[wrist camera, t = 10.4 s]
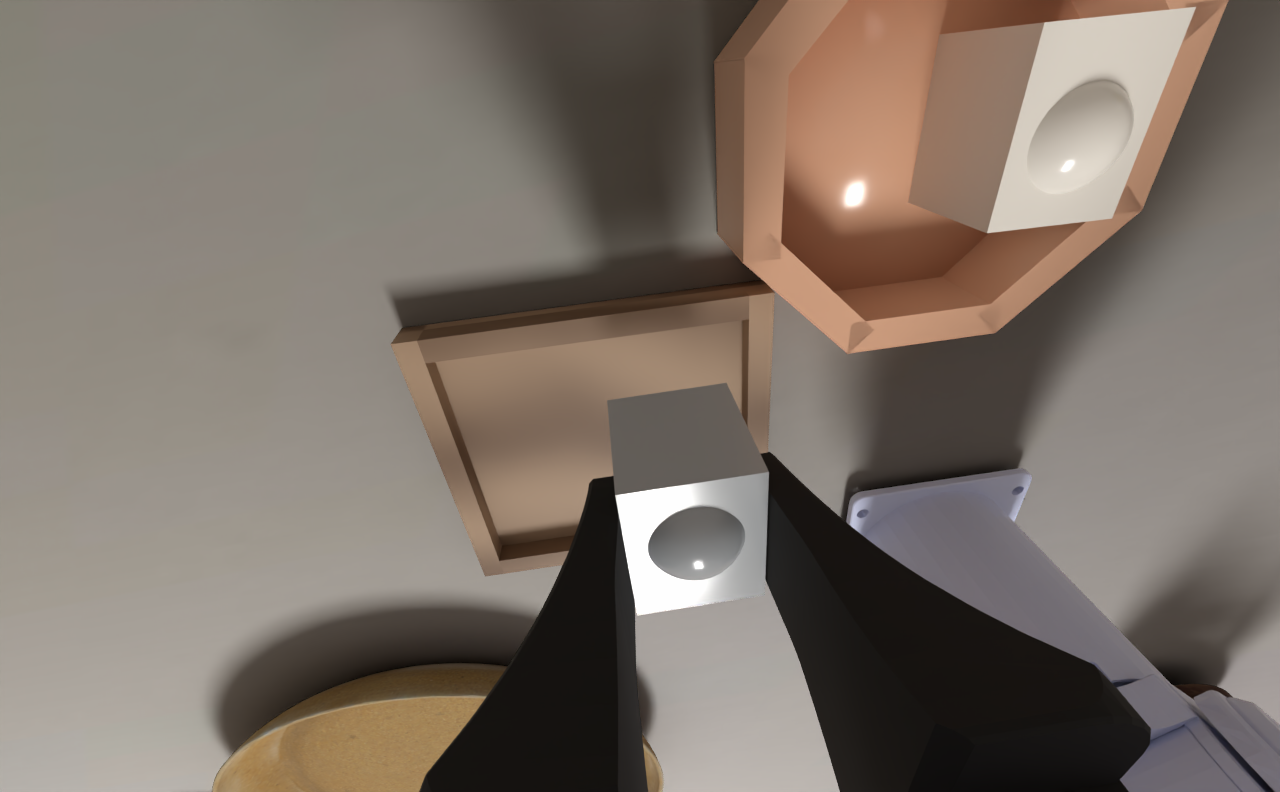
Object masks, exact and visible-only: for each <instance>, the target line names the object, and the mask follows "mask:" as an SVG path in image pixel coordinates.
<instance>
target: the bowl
mask: <svg viewBox="0 0 1280 792" xmlns="http://www.w3.org/2000/svg"><path fill="white" fill-rule="evenodd" d="M1228 1H1229V0H759V1H758V2H757V4H756V5H755V6H754V8H753V9H752V10H751V12H750V13H749V14H748V16H747V17H746V19H745V20H744V21H743V23H742V24H741V25H740V27H739V28H738V29H737V31H736V32H735V34H734V35H733V36H732V38H731V39H730V40H729V42H728V43H727V44H726V46H725V47H724V48H723V50H722V51H721V53H720V54H719V55H718V57H717V58H716V59H715V60H714V72H715V123H716V174H717V224H718V233H717V234H718V235H719V236H720V237H721V239H722V240H723V241H724V242H725V243H726V244H727V246H728V247H729V248H730V249H731V250H732V251H733V252H734V254H735V255H736V256H737V257H738V258H739V259H740V261H741V262H742V263H743V264H745V265H746V266H747V267H748V268H749V269H750V270H752V271H753V272H754V273H755V274H756V275H757V276H758V277H760V278H761V279H762V280H763V281H764V282H765V283H767V284H768V285H769V286H770V287H771V288H772V289H773V290H775V291H776V292H777V293H778V294H779V295H780V296H782V297H783V298H784V299H785V300H786V301H787V302H789V303H790V304H791V305H792V306H793V307H794V308H795V309H797V310H798V311H799V312H800V313H801V314H802V315H804V316H805V317H806V318H807V319H808V320H809V321H810V322H812V323H813V324H814V325H815V326H816V327H817V328H819V329H820V330H821V331H822V332H823V333H824V334H825V335H827V336H828V337H829V338H830V339H831V340H832V341H834V342H835V343H836V344H837V345H838V346H839V347H841V348H842V349H843V350H844V351H845V352H846V353H847V354H849V353H856V352H863V351H870V350H877V349H884V348H892V347H899V346H906V345H913V344H920V343H928V342H935V341H942V340H949V339H956V338H964V337H971V336H978V335H985V334H992V333H994V334H995V333H996V332H997V331H998V330H999V329H1001V328H1002V327H1003V326H1004V325H1005V324H1007V323H1008V322H1009V321H1010V320H1011V319H1013V318H1014V317H1015V316H1016V315H1017V314H1019V313H1020V312H1021V311H1022V310H1023V309H1024V308H1026V307H1027V306H1028V305H1029V304H1030V303H1032V302H1033V301H1034V300H1035V299H1036V298H1038V297H1039V296H1040V295H1041V294H1042V293H1044V292H1045V291H1046V290H1047V289H1048V288H1050V287H1051V286H1052V285H1053V284H1054V283H1056V282H1057V281H1058V280H1059V279H1060V278H1062V277H1063V276H1064V275H1065V274H1066V273H1068V272H1069V271H1070V270H1071V269H1072V268H1074V267H1075V266H1076V265H1077V264H1078V263H1080V262H1081V261H1082V260H1083V259H1084V258H1085V257H1087V256H1088V255H1089V254H1090V253H1091V252H1093V251H1094V250H1095V249H1096V248H1097V247H1099V246H1100V245H1101V244H1102V243H1103V242H1105V241H1106V240H1107V239H1108V238H1109V237H1111V236H1112V235H1113V234H1114V233H1115V232H1117V231H1118V230H1119V229H1120V228H1121V227H1123V226H1124V225H1125V224H1126V223H1127V222H1129V221H1130V220H1131V219H1132V218H1133V217H1135V216H1136V215H1137V214H1138V213H1139V212H1140V211H1142V210H1143V206H1144V204H1145V202H1146V199H1147V197H1148V194H1149V192H1150V189H1151V187H1152V185H1153V182H1154V180H1155V177H1156V175H1157V172H1158V170H1159V168H1160V165H1161V163H1162V160H1163V158H1164V155H1165V153H1166V151H1167V148H1168V146H1169V143H1170V141H1171V139H1172V136H1173V134H1174V131H1175V129H1176V126H1177V124H1178V122H1179V119H1180V117H1181V114H1182V112H1183V109H1184V107H1185V105H1186V102H1187V100H1188V97H1189V95H1190V92H1191V90H1192V88H1193V85H1194V83H1195V80H1196V78H1197V75H1198V73H1199V71H1200V68H1201V66H1202V63H1203V61H1204V58H1205V56H1206V54H1207V51H1208V49H1209V46H1210V44H1211V41H1212V39H1213V37H1214V34H1215V32H1216V29H1217V27H1218V25H1219V22H1220V20H1221V17H1222V15H1223V12H1224V10H1225V8H1226V5H1227V3H1228ZM1190 7H1196V9H1195V11H1194V14H1193V16H1192V19H1191V21H1190V24H1189V26H1188V29H1187V31H1186V34H1185V36H1184V39H1183V41H1182V44H1181V46H1180V49H1179V51H1178V54H1177V56H1176V59H1175V61H1174V64H1173V66H1172V69H1171V72H1170V74H1169V77H1168V79H1167V82H1166V84H1165V87H1164V89H1163V92H1162V94H1161V97H1160V99H1159V102H1158V104H1157V107H1156V109H1155V112H1154V114H1153V117H1152V119H1151V122H1150V124H1149V127H1148V129H1147V132H1146V134H1145V137H1144V139H1143V142H1142V144H1141V147H1140V150H1139V152H1138V155H1137V157H1136V160H1135V162H1134V165H1133V167H1132V170H1131V172H1130V175H1129V177H1128V180H1127V182H1126V185H1125V187H1124V190H1123V192H1122V195H1121V197H1120V200H1119V202H1118V205H1117V207H1116V210H1115V212H1114V215H1113V217H1112V219H1104V220H1096V221H1087V222H1079V223H1070V224H1062V225H1053V226H1044V227H1036V228H1027V229H1019V230H1010V231H1002V232H993V233H985V232H982V231H980V230H977V229H975V228H972V227H970V226H967V225H964V224H962V223H959V222H957V221H954V220H952V219H949V218H946V217H944V216H941V215H939V214H936V213H933V212H931V211H928V210H926V209H923V208H921V207H918V206H915V205H913V204H910V203H908V200H909V195H910V190H911V184H912V179H913V174H914V168H915V163H916V157H917V152H918V147H919V141H920V136H921V131H922V125H923V120H924V115H925V109H926V104H927V99H928V93H929V88H930V83H931V77H932V72H933V66H934V61H935V56H936V50H937V45H938V40H939V34H948V33H957V32H965V31H974V30H983V29H991V28H1000V27H1009V26H1018V25H1026V24H1035V23H1044V22H1053V21H1063V20H1073V19H1082V18H1092V17H1102V16H1112V15H1121V14H1131V13H1141V12H1151V11H1160V10H1170V9H1180V8H1190Z"/></svg>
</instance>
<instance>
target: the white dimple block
mask: <svg viewBox="0 0 1280 792" xmlns="http://www.w3.org/2000/svg"><path fill="white" fill-rule="evenodd" d="M1195 9H1196V7H1190V8H1180V9H1170V10H1160V11H1151V12H1141V13H1131V14H1121V15H1112V16H1102V17H1092V18H1082V19H1073V20H1063V21H1053V22H1044V23H1035V24H1026V25H1018V26H1009V27H1000V28H991V29H983V30H974V31H965V32H957V33H948V34H939V40H938V45H937V50H936V56H935V61H934V66H933V72H932V77H931V83H930V88H929V93H928V99H927V104H926V109H925V115H924V120H923V125H922V131H921V136H920V141H919V147H918V152H917V157H916V163H915V168H914V174H913V179H912V184H911V190H910V195H909V200H908V203H910V204H913V205H915V206H918V207H921V208H923V209H926V210H928V211H931V212H933V213H936V214H939V215H941V216H944V217H946V218H949V219H952V220H954V221H957V222H959V223H962V224H964V225H967V226H970V227H972V228H975V229H977V230H980V231H982V232H985V233H993V232H1002V231H1010V230H1019V229H1027V228H1036V227H1044V226H1053V225H1062V224H1070V223H1079V222H1087V221H1096V220H1104V219H1112V217H1113V215H1114V212H1115V210H1116V207H1117V205H1118V202H1119V200H1120V197H1121V195H1122V192H1123V190H1124V187H1125V185H1126V182H1127V180H1128V177H1129V175H1130V172H1131V170H1132V167H1133V165H1134V162H1135V160H1136V157H1137V155H1138V152H1139V150H1140V147H1141V144H1142V142H1143V139H1144V137H1145V134H1146V132H1147V129H1148V127H1149V124H1150V122H1151V119H1152V117H1153V114H1154V112H1155V109H1156V107H1157V104H1158V102H1159V99H1160V97H1161V94H1162V92H1163V89H1164V87H1165V84H1166V82H1167V79H1168V77H1169V74H1170V72H1171V69H1172V66H1173V64H1174V61H1175V59H1176V56H1177V54H1178V51H1179V49H1180V46H1181V44H1182V41H1183V39H1184V36H1185V34H1186V31H1187V29H1188V26H1189V24H1190V21H1191V19H1192V16H1193V14H1194V11H1195Z"/></svg>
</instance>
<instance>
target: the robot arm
mask: <svg viewBox="0 0 1280 792" xmlns="http://www.w3.org/2000/svg"><path fill="white" fill-rule="evenodd" d="M761 456H762V459H763V461H764V463H765V465H766V467H767V469H768V471H769V485H768V515H767V545H766V574H765V579H766V582H767V584H768V586H769V589H770V591H771V593H772V596H773V598H774V600H775V603H776V605H777V607H778V610H779V612H780V614H781V617H782V619H783V621H784V624H785V626H786V628H787V631H788V633H789V635H790V638H791V640H792V642H793V645H794V648H795V650H796V653H797V655H798V658H799V661H800V663H801V667H802V670H803V673H804V676H805V679H806V682H807V685H808V688H809V691H810V694H811V697H812V701H813V704H814V707H815V710H816V713H817V717H818V720H819V723H820V726H821V730H822V733H823V736H824V739H825V742H826V746H827V749H828V752H829V756H830V759H831V762H832V766H833V769H834V773H835V776H836V779H837V783H838V786H839V790H840V792H1280V725H1279V724H1278V723H1277V722H1276V721H1275V720H1273V719H1272V718H1271V717H1270V716H1269V715H1268V714H1267V713H1265V712H1264V711H1263V710H1262V709H1261V708H1259V707H1258V706H1257V705H1255V704H1254V703H1252V702H1248V701H1244V700H1240V699H1237V698H1233V697H1228V698H1227V697H1225V696H1224V695H1223V694H1221V693H1219V692H1218V691H1214V690H1209V691H1206V692H1204V693H1202V694H1200V695H1198V696H1196V697H1194V700H1193V699H1192V698H1191V697H1189V696H1188V695H1186V694H1185V693H1183V692H1182V691H1181V690H1179V689H1178V688H1176V687H1175V686H1173V685H1172V684H1171V683H1170V682H1169V681H1168V680H1167V679H1166V678H1165V677H1164V676H1163V675H1162V674H1161V673H1160V672H1159V671H1158V670H1157V669H1156V668H1155V667H1154V666H1153V665H1152V664H1151V663H1150V662H1149V661H1148V660H1147V659H1146V658H1145V657H1144V656H1143V654H1142V653H1141V652H1140V651H1139V650H1138V649H1137V648H1136V647H1135V646H1134V645H1133V644H1132V643H1131V642H1130V641H1129V640H1128V639H1127V638H1126V637H1125V636H1124V635H1123V634H1122V633H1121V632H1120V631H1119V630H1118V629H1117V628H1116V627H1115V626H1114V625H1113V624H1112V623H1111V621H1110V620H1109V619H1108V618H1107V617H1106V616H1105V615H1104V614H1103V613H1102V612H1101V611H1100V610H1099V609H1098V608H1097V607H1096V606H1095V605H1094V604H1093V603H1092V602H1091V601H1090V600H1089V599H1088V598H1087V597H1086V596H1085V595H1084V594H1083V593H1082V592H1081V591H1080V590H1079V589H1078V587H1077V586H1076V585H1075V584H1074V583H1073V582H1072V581H1071V580H1070V579H1069V578H1068V577H1067V576H1066V575H1065V574H1064V573H1063V572H1062V571H1061V570H1060V569H1059V568H1058V567H1057V566H1056V565H1055V564H1054V563H1053V562H1052V561H1051V560H1050V559H1049V558H1048V557H1047V556H1046V554H1045V553H1044V552H1043V551H1042V550H1041V549H1040V548H1039V547H1038V546H1037V545H1036V544H1035V543H1034V542H1033V541H1032V540H1031V539H1030V538H1029V537H1028V536H1027V535H1026V534H1025V533H1024V532H1023V531H1022V530H1021V529H1020V528H1019V527H1018V526H1017V525H1016V524H1015V523H1014V521H1015V519H1016V516H1017V514H1018V511H1019V509H1020V507H1021V504H1022V502H1023V499H1024V497H1025V495H1026V492H1027V490H1028V487H1029V485H1030V482H1031V479H1032V476H1031V474H1030V473H1029V472H1028V471H1026V470H1025V469H1023V468H1018V469H1011V470H1004V471H997V472H991V473H984V474H977V475H970V476H963V477H956V478H950V479H943V480H936V481H929V482H922V483H916V484H909V485H902V486H895V487H888V488H882V489H875V490H868V491H861V492H858V493H856V494H854V495H853V496H852V497H851V499H850V502H849V508H848V514H847V520H846V522H845V521H844V520H843V519H842V518H840V517H839V516H838V515H837V514H836V513H835V512H833V511H832V510H831V509H830V508H829V507H828V506H827V505H826V504H824V503H823V502H822V501H821V500H820V499H819V498H818V497H816V496H815V495H814V494H813V493H812V492H811V491H810V490H809V489H808V488H807V487H806V486H805V485H804V484H802V483H801V482H800V481H799V480H798V479H797V478H796V477H795V476H794V475H793V474H792V473H791V472H790V471H789V470H788V469H787V468H786V467H785V466H784V465H783V464H782V463H781V462H780V461H779V460H778V459H777V458H776V457H775V456H774V455H773V454H772V453H770V452H767V453H761ZM860 510H861V511H860ZM419 792H648V785H647V776H646V767H645V758H644V748H643V739H642V730H641V720H640V711H639V701H638V692H637V677H636V645H635V599H634V594H633V589H632V583H631V578H630V572H629V567H628V562H627V556H626V551H625V546H624V540H623V535H622V530H621V524H620V519H619V513H618V508H617V503H616V497H615V488H614V476H609V477H602V478H595V479H593V480H592V481H591V482H590V483H589V487H588V493H587V497H586V501H585V505H584V508H583V512H582V515H581V518H580V521H579V525H578V527H577V530H576V533H575V536H574V538H573V541H572V544H571V546H570V549H569V552H568V554H567V557H566V559H565V561H564V563H563V566H562V568H561V570H560V572H559V575H558V577H557V579H556V581H555V584H554V586H553V588H552V590H551V592H550V594H549V596H548V598H547V600H546V602H545V604H544V606H543V608H542V610H541V611H540V613H539V615H538V617H537V619H536V621H535V622H534V624H533V626H532V628H531V629H530V631H529V633H528V634H527V636H526V638H525V639H524V641H523V643H522V644H521V646H520V648H519V649H518V651H517V653H516V654H515V656H514V657H513V659H512V661H511V662H510V664H509V665H508V667H507V668H506V670H505V671H504V673H503V674H502V676H501V677H500V678H499V680H498V681H497V683H496V684H495V685H494V687H493V688H492V690H491V691H490V693H489V694H488V695H487V697H486V698H485V700H484V701H483V702H482V704H481V705H480V707H479V708H478V709H477V711H476V712H475V714H474V715H473V716H472V718H471V719H470V720H469V721H468V723H467V724H466V725H465V727H464V728H463V729H462V730H461V732H460V733H459V734H458V735H457V736H456V738H455V739H454V740H453V741H452V743H451V744H450V745H449V746H448V748H447V749H446V750H445V751H444V753H443V754H442V755H441V756H440V758H439V759H438V760H437V761H436V762H435V764H434V765H433V766H432V767H431V769H430V770H429V771H428V772H427V774H426V775H425V778H424V780H423V783H422V785H421V788H420V791H419Z"/></svg>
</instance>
